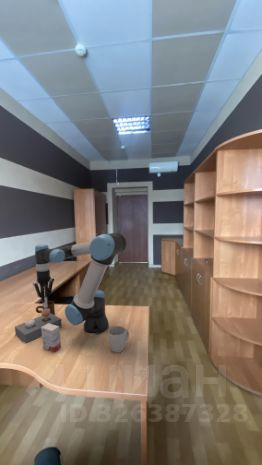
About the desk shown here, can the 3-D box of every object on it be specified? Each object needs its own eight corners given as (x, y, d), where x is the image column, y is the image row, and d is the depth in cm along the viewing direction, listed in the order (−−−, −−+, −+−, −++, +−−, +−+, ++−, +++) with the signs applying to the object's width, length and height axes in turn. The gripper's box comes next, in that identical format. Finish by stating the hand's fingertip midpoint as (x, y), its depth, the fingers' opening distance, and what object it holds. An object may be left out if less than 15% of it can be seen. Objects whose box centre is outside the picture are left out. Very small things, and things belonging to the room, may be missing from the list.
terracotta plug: (52, 321, 134) (51, 309, 133) (44, 324, 130) (44, 312, 130) (48, 318, 137) (47, 307, 137) (40, 322, 134) (40, 310, 133)
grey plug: (37, 332, 127) (36, 320, 126) (28, 336, 123) (27, 324, 122) (33, 330, 130) (32, 318, 129) (24, 333, 126) (23, 321, 126)
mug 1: (37, 322, 141) (36, 308, 140) (35, 317, 147) (34, 304, 146) (56, 316, 147) (55, 303, 146) (53, 312, 154) (52, 300, 153)
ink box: (61, 347, 113) (60, 326, 112) (53, 353, 109) (52, 330, 108) (49, 343, 117) (48, 322, 116) (42, 348, 113) (40, 326, 112)
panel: (61, 326, 134) (61, 319, 134) (25, 343, 118) (25, 334, 117) (50, 319, 143) (49, 312, 143) (15, 334, 127) (14, 326, 126)
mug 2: (117, 356, 104) (116, 337, 104) (105, 349, 111) (104, 330, 110) (134, 344, 114) (134, 326, 113) (122, 338, 120) (122, 321, 119)
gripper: (49, 266, 138) (52, 301, 140) (29, 271, 128) (32, 308, 131) (56, 268, 133) (58, 304, 136) (35, 273, 123) (38, 312, 126)
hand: (45, 306), depth 133 cm, fingers closed
